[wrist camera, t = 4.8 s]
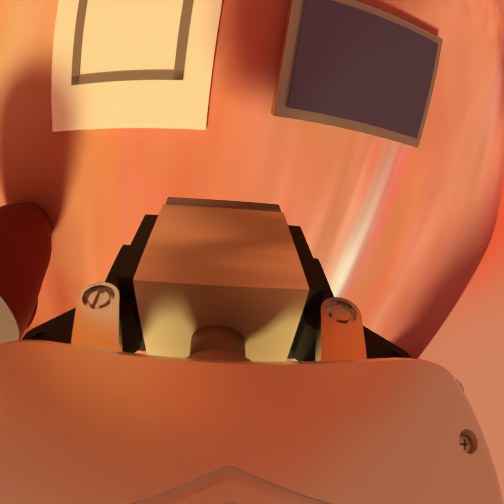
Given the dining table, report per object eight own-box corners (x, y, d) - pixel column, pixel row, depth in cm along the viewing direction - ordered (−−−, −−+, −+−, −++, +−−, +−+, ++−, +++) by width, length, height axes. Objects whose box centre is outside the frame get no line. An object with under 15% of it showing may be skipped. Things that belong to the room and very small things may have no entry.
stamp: (280, 203, 12) (344, 405, 5) (264, 289, 14) (291, 468, 7) (167, 195, 11) (96, 398, 4) (169, 284, 14) (141, 464, 7)
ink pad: (434, 38, 14) (446, 39, 13) (410, 143, 19) (421, 149, 18) (291, -13, 13) (297, -19, 11) (271, 112, 18) (274, 117, 17)
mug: (89, 283, 24) (55, 376, 16) (24, 281, 24) (-16, 359, 16) (59, 174, 18) (-17, 254, 10) (-10, 185, 17) (-81, 255, 9)
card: (234, -63, 10) (235, -66, 10) (205, 128, 18) (205, 130, 18) (71, -48, 8) (69, -50, 8) (54, 130, 16) (52, 132, 16)
